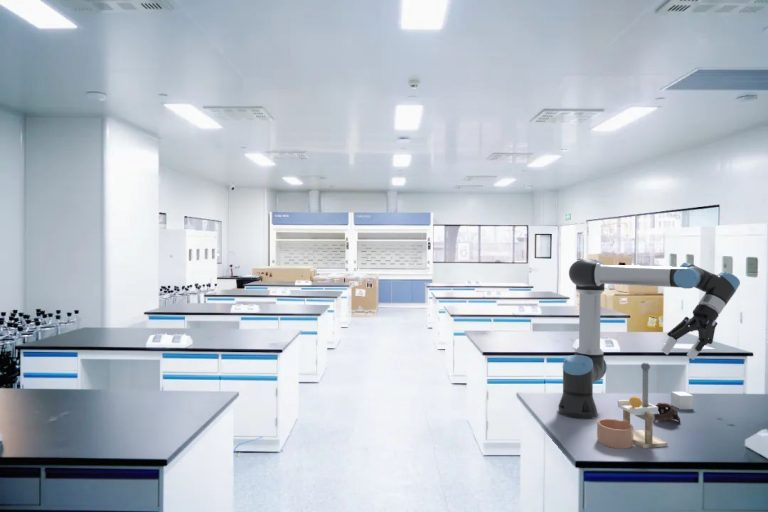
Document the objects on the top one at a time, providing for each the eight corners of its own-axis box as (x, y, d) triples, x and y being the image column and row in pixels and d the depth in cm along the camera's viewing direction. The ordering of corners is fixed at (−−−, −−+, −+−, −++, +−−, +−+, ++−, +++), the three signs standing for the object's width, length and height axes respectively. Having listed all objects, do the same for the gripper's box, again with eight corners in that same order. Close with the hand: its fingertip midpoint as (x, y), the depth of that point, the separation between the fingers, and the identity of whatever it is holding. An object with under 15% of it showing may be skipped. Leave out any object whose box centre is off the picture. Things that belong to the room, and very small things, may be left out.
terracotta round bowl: (593, 443, 169) (594, 425, 169) (602, 434, 178) (602, 416, 178) (628, 451, 162) (628, 432, 162) (635, 441, 171) (635, 423, 171)
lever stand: (641, 433, 179) (642, 401, 179) (667, 446, 167) (667, 412, 167) (619, 434, 177) (619, 402, 177) (643, 448, 165) (643, 413, 165)
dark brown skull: (687, 427, 187) (680, 410, 185) (663, 436, 189) (656, 419, 187) (671, 409, 198) (664, 393, 197) (649, 418, 200) (642, 402, 198)
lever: (639, 413, 177) (639, 359, 177) (658, 422, 168) (658, 365, 168) (617, 415, 175) (618, 360, 175) (635, 423, 166) (635, 366, 166)
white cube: (679, 409, 207) (679, 395, 207) (670, 405, 213) (670, 391, 213) (693, 409, 207) (693, 395, 207) (684, 405, 213) (684, 391, 213)
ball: (628, 407, 171) (628, 396, 171) (630, 405, 174) (630, 394, 174) (640, 410, 169) (640, 398, 169) (642, 407, 172) (642, 396, 172)
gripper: (744, 317, 165) (710, 366, 163) (691, 314, 190) (662, 356, 188) (727, 304, 165) (693, 352, 163) (677, 302, 190) (647, 344, 188)
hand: (676, 354), depth 175 cm, fingers open, 13 cm apart
